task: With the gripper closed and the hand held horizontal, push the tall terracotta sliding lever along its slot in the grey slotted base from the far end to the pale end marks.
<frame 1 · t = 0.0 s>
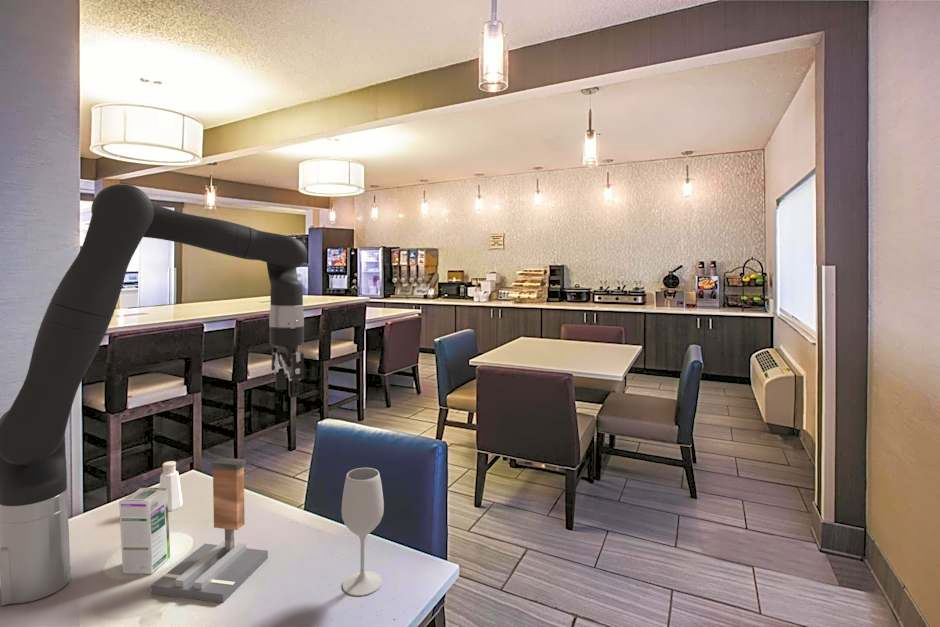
hand: (287, 393, 116), 29 cm above the table, tool pointing down, fingers open, 8 cm apart
syrup box: (146, 566, 96), on the table
salt shaker: (170, 507, 120), on the table
lever: (229, 506, 98), point 11 cm above the table, slide at 0.0 cm
wineglass: (362, 584, 92), on the table
grey slotted base: (213, 574, 94), on the table
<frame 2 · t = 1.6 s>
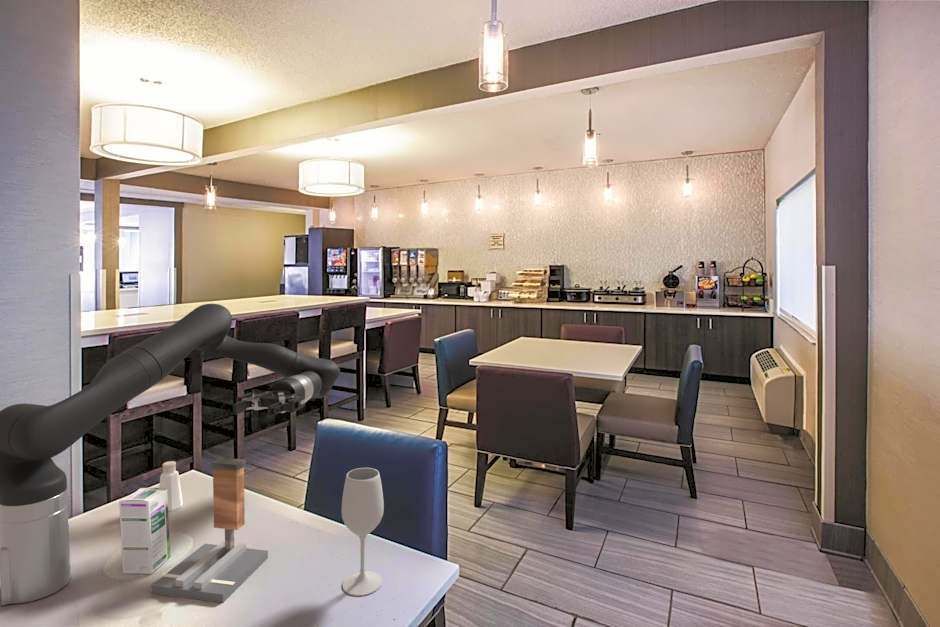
hand: (251, 410, 104), 28 cm above the table, tool horizontal, fingers open, 7 cm apart
nothing on the table moved.
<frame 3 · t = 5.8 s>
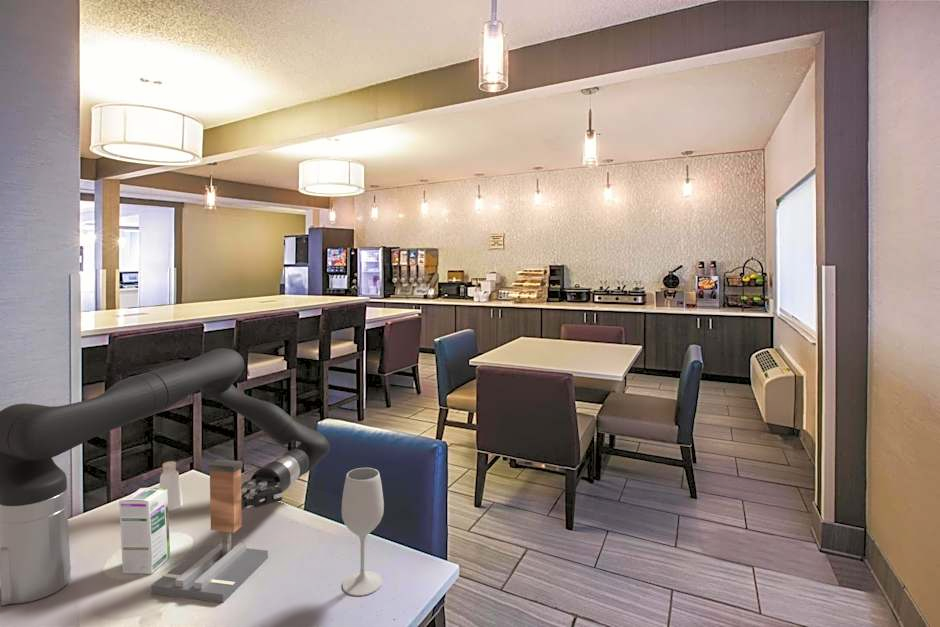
hand: (229, 510, 98), 10 cm above the table, tool horizontal, fingers closed
lever: (226, 508, 97), point 11 cm above the table, slide at 1.0 cm, touching gripper
everything else where it was.
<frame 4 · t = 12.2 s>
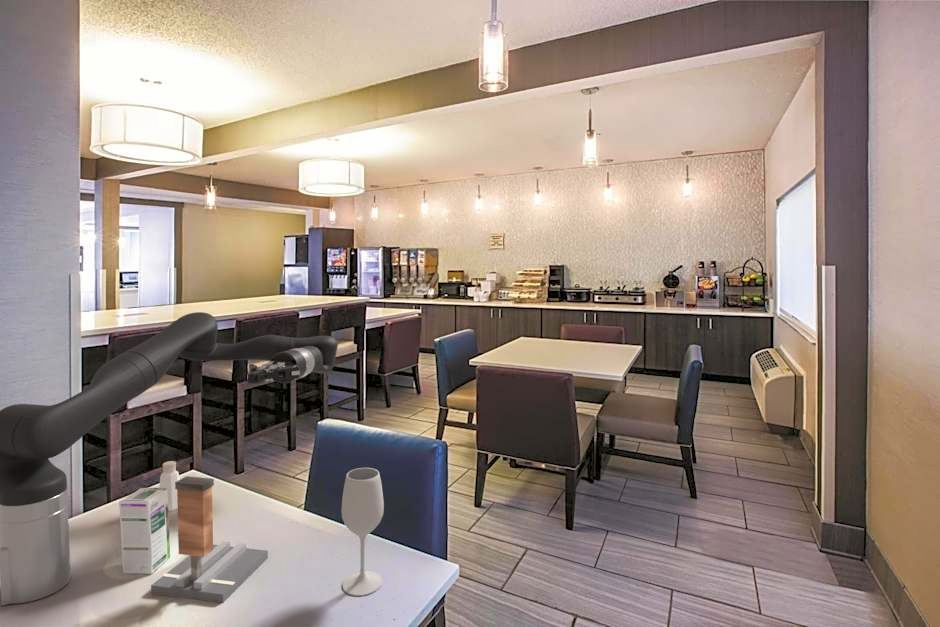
hand: (251, 378, 104), 35 cm above the table, tool horizontal, fingers closed
lever: (195, 530, 88), point 11 cm above the table, slide at 9.5 cm
everything else where it was.
at the end: lever slide at 9.5 cm; wineglass moved 0.2 cm from its start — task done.
